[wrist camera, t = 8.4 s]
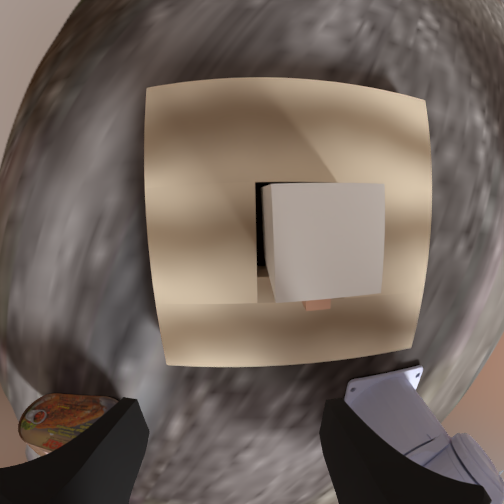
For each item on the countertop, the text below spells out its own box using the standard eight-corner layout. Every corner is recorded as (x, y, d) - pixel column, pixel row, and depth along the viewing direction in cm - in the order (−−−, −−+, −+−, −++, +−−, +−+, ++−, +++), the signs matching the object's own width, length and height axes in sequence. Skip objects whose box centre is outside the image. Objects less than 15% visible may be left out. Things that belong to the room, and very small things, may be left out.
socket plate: (397, 333, 20) (410, 347, 17) (174, 346, 19) (166, 365, 17) (407, 108, 16) (424, 100, 13) (158, 99, 16) (146, 87, 13)
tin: (135, 395, 21) (104, 462, 13) (149, 418, 22) (125, 483, 13) (39, 389, 21) (4, 430, 13) (51, 409, 22) (21, 451, 14)
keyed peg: (327, 186, 17) (384, 183, 9) (328, 271, 18) (376, 323, 11) (260, 187, 17) (271, 183, 9) (264, 275, 18) (276, 334, 11)
